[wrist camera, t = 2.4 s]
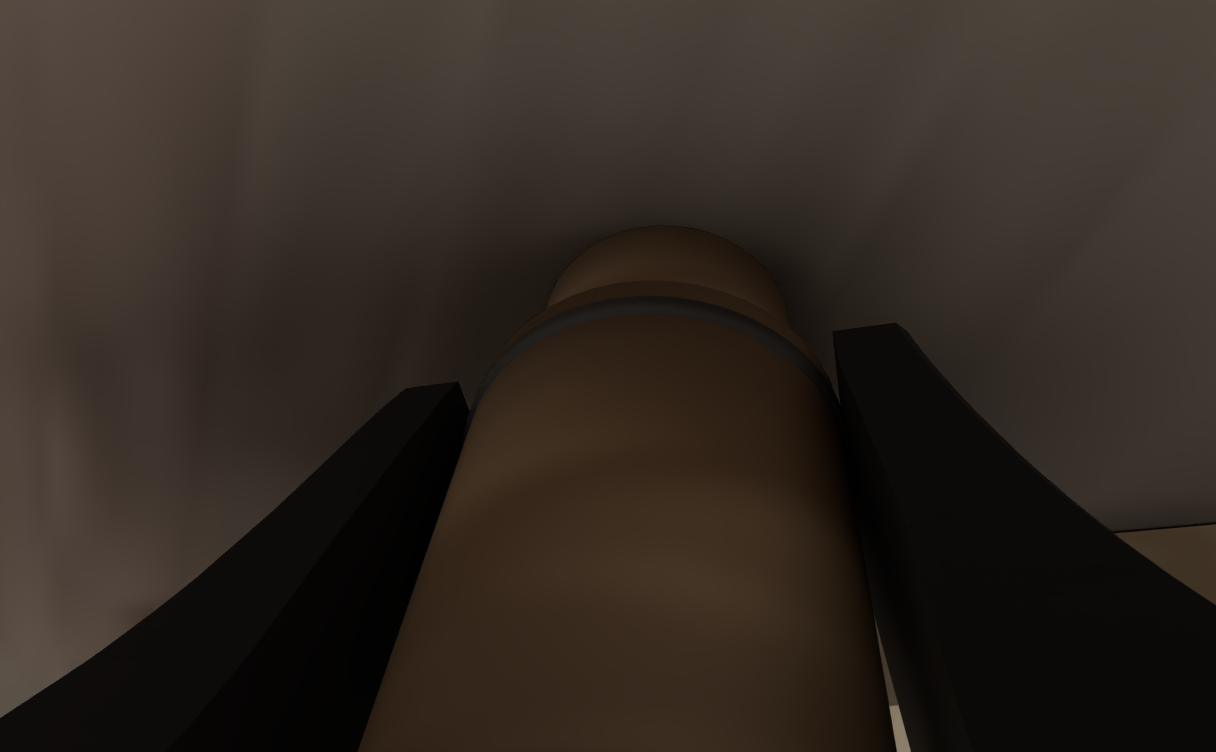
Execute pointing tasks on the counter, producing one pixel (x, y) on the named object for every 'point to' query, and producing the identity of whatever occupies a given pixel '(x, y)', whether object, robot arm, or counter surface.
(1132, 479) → the counter surface
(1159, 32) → the counter surface
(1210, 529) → the board
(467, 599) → the peg
